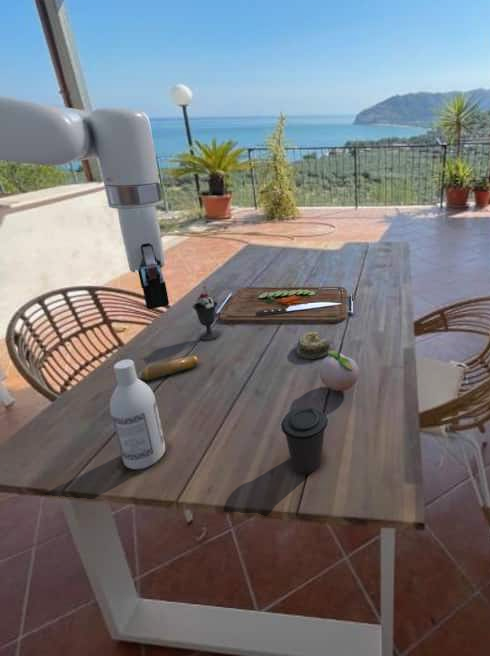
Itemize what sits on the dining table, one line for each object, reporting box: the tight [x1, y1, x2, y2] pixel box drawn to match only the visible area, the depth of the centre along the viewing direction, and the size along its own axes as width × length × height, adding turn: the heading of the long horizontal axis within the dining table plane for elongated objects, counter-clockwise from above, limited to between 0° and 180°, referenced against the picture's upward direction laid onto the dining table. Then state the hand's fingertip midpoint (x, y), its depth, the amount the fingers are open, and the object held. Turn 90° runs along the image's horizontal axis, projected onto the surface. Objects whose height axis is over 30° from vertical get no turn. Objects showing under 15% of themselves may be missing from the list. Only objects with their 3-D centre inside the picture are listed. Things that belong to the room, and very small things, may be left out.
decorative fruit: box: [318, 350, 360, 392], centre depth 89 cm, size 9×8×10 cm
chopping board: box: [215, 286, 354, 324], centre depth 134 cm, size 45×27×3 cm, turn 91°
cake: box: [296, 331, 333, 360], centre depth 106 cm, size 10×10×5 cm
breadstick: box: [140, 355, 200, 381], centre depth 96 cm, size 13×3×3 cm, turn 122°
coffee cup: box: [280, 405, 329, 474], centre depth 70 cm, size 8×8×10 cm
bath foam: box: [109, 359, 166, 470], centre depth 69 cm, size 7×7×20 cm
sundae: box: [192, 286, 219, 341], centre depth 111 cm, size 7×7×15 cm
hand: (154, 296), depth 66 cm, fingers open, 9 cm apart
